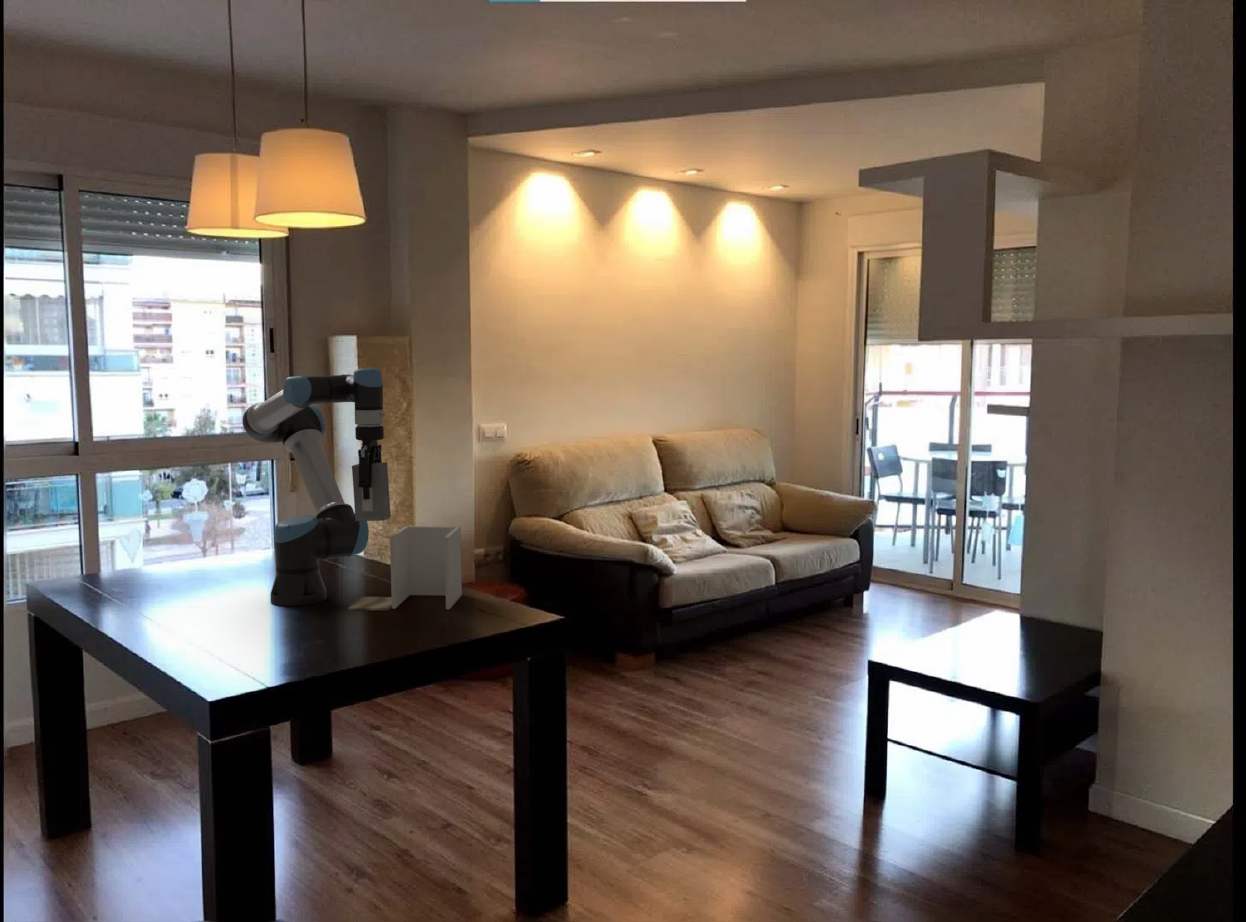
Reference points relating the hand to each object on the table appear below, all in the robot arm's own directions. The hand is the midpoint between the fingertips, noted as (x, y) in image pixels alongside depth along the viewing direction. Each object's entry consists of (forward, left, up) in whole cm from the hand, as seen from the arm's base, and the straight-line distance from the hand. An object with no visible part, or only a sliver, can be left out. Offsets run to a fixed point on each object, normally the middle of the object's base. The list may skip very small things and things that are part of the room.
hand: (371, 508), depth 277 cm
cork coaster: (0, 0, -27) cm, 27 cm away
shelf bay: (+14, +4, -27) cm, 31 cm away
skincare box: (0, 0, -3) cm, 3 cm away
